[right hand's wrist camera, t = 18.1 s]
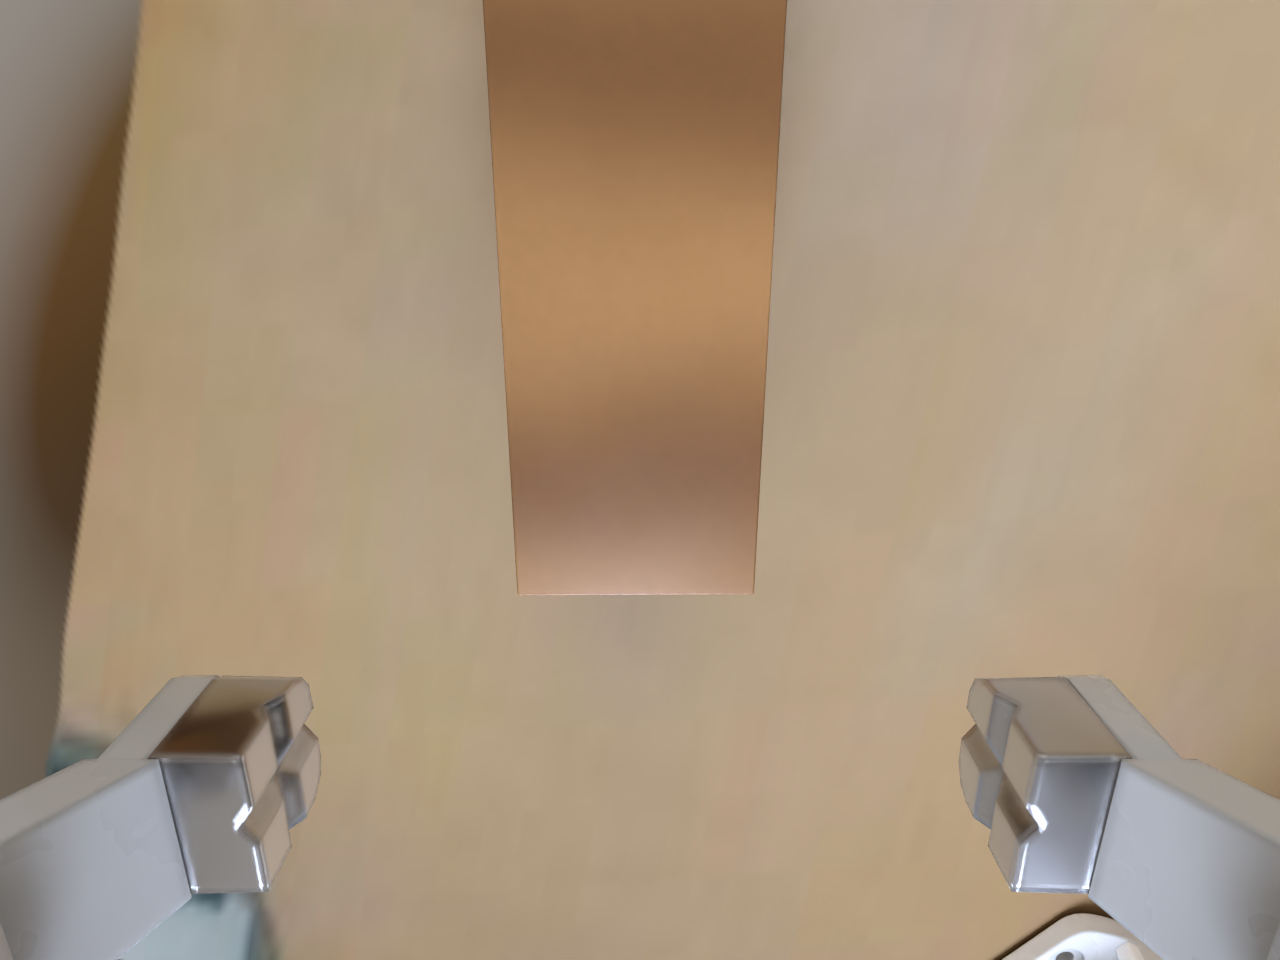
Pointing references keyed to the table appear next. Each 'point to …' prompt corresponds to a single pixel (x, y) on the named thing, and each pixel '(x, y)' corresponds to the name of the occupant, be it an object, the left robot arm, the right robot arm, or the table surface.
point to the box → (635, 284)
